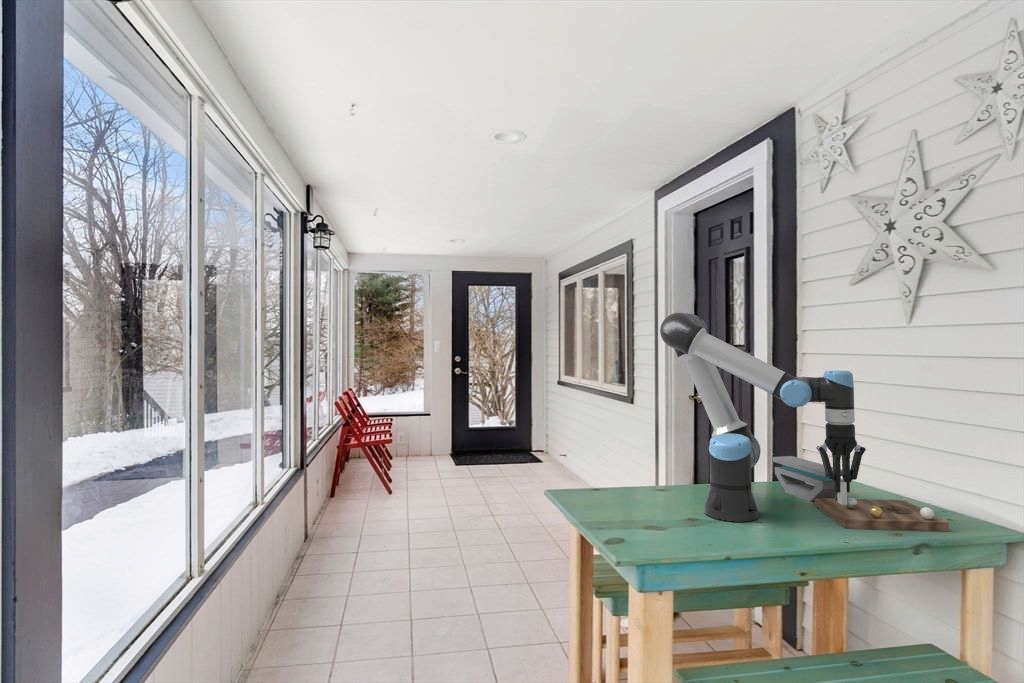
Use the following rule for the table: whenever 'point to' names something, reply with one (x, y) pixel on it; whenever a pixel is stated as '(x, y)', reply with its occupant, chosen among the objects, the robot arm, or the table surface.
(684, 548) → the table surface
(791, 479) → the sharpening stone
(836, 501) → the walnut plate
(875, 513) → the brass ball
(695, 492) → the table surface
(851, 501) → the steel ball
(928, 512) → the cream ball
